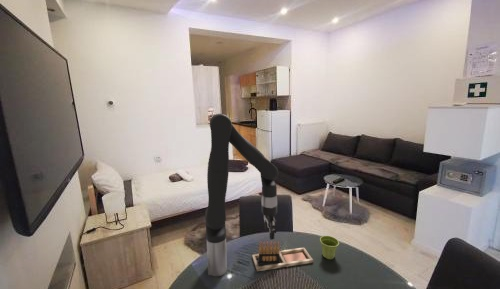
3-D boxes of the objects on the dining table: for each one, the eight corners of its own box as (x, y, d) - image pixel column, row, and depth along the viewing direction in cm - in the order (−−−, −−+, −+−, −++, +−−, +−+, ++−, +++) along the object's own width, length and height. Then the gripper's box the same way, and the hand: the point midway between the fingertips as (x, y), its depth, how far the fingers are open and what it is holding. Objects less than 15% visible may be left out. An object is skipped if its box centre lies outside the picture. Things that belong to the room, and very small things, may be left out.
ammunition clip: (258, 263, 117) (258, 241, 115) (258, 260, 119) (258, 239, 117) (279, 263, 117) (280, 241, 115) (279, 260, 119) (279, 239, 117)
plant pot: (335, 250, 127) (336, 236, 125) (340, 262, 118) (341, 246, 116) (317, 249, 128) (318, 235, 126) (321, 261, 119) (322, 245, 117)
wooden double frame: (256, 271, 112) (256, 268, 111) (252, 257, 122) (252, 254, 121) (313, 262, 118) (313, 259, 117) (304, 249, 127) (304, 247, 127)
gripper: (258, 198, 118) (258, 227, 121) (265, 211, 105) (266, 243, 108) (272, 196, 120) (272, 225, 123) (281, 209, 106) (281, 241, 109)
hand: (269, 234), depth 115 cm, fingers open, 8 cm apart
